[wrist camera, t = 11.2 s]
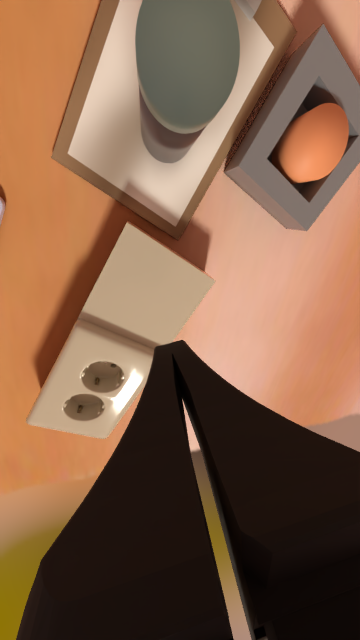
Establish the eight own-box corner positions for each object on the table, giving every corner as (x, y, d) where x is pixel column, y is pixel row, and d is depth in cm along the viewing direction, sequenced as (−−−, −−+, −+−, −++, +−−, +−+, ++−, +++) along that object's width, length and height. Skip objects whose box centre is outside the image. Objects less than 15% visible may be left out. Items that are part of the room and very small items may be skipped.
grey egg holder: (223, 172, 15) (238, 166, 13) (291, 54, 12) (323, 23, 10) (286, 228, 17) (307, 230, 15) (350, 139, 15) (385, 128, 13)
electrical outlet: (220, 284, 15) (106, 442, 20) (203, 270, 18) (110, 407, 23) (126, 223, 12) (22, 426, 17) (128, 220, 15) (41, 388, 20)
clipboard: (53, 159, 13) (47, 155, 12) (158, -164, 9) (160, -206, 8) (177, 239, 16) (179, 241, 15) (292, 37, 12) (304, 23, 11)
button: (261, 162, 14) (281, 154, 12) (298, 102, 13) (326, 84, 11) (294, 195, 16) (316, 193, 14) (329, 144, 14) (359, 134, 13)
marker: (165, 176, 14) (182, 148, 8) (127, 124, 12) (111, 36, 6) (204, 136, 13) (258, 70, 7) (169, 76, 12) (198, -77, 5)
